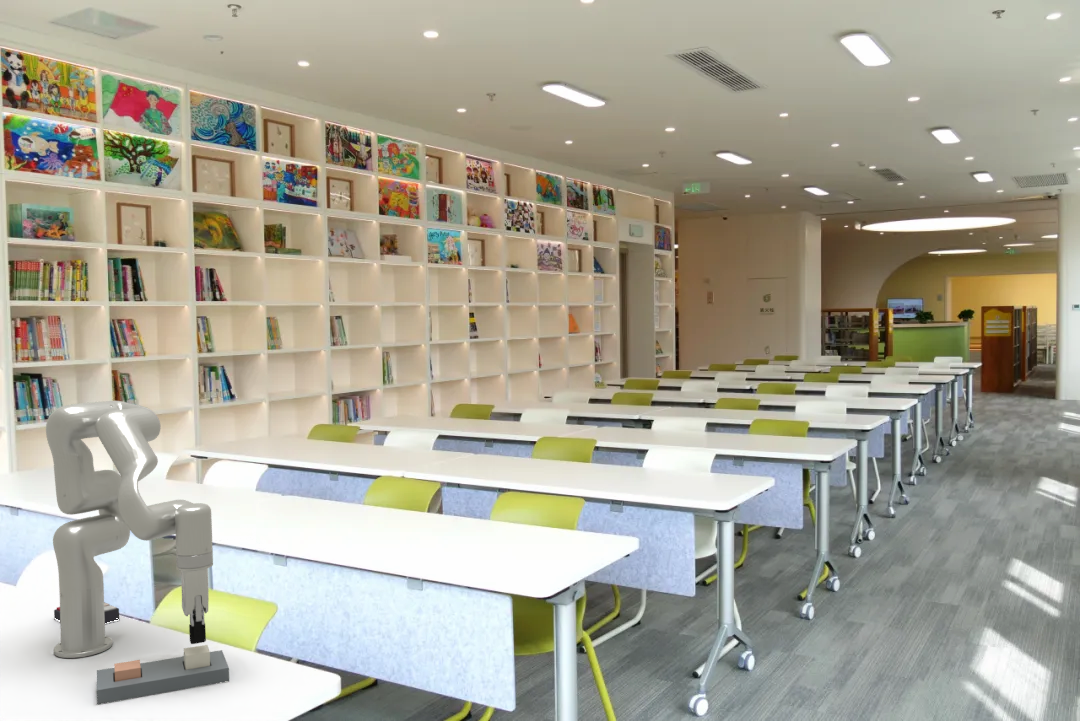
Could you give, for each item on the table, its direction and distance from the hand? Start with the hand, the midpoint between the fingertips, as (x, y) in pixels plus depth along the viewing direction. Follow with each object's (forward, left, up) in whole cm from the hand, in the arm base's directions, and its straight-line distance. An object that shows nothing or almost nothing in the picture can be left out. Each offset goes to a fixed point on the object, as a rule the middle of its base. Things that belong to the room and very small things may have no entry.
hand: (197, 641), depth 197 cm
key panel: (0, -7, -8) cm, 11 cm away
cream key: (0, 0, -6) cm, 6 cm away
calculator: (-55, -23, -9) cm, 61 cm away
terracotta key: (0, -14, -7) cm, 16 cm away
